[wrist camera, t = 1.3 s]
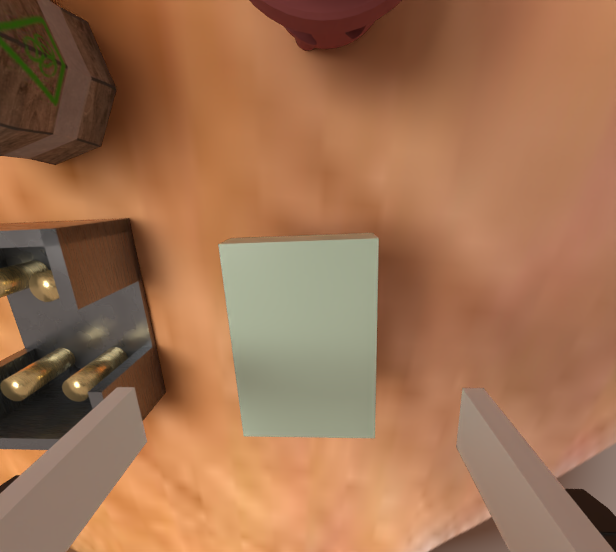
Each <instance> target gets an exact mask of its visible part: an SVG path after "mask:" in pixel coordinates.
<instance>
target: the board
mask: <svg viewBox="0 0 616 552" xmlns="http://www.w3.org/2000/svg"><path fill="white" fill-rule="evenodd" d="M218 246H219V253H220V261H221V268H222V276H223V283H224V291H225V298H226V306H227V313H228V321H229V329H230V336H231V344H232V351H233V359H234V366H235V374H236V381H237V389H238V397H239V404H240V412H241V419H242V427H243V434H244V436H261V437H327V438H375V407H376V354H377V301H378V247H379V238H378V237H377V236H376V235H375V234H374V233H352V234H325V235H299V236H273V237H246V238H230V239H228V240H226V241H224V242H222V243H220V244H218Z"/></svg>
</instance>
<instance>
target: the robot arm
mask: <svg viewBox="0 0 616 552" xmlns="http://www.w3.org/2000/svg"><path fill="white" fill-rule="evenodd" d="M146 442H147V439H146V435H145V430H144V426H143V422H142V417H141V413H140V409H139V405H138V400H137V396H136V392H135V387H117V388H116V389H115V390H114V391H112V392H111V393H110V394H109V395H108V396H107V397H106V398H105V399H104V400H103V401H101V402H100V403H99V404H98V405H97V406H96V407H95V408H94V409H93V410H92V411H90V412H89V413H88V414H87V415H86V416H85V417H84V418H83V419H82V420H81V421H79V422H78V423H77V424H76V425H75V426H74V427H73V428H72V429H71V430H70V431H68V432H67V433H66V434H65V435H64V436H63V437H62V438H61V439H60V440H59V441H57V442H56V443H55V444H54V445H53V446H52V447H51V448H50V449H49V450H48V451H46V452H45V453H44V454H43V455H42V456H41V457H40V458H39V459H38V460H37V461H35V462H34V463H33V464H32V465H31V466H30V467H29V468H28V469H27V470H26V471H25V472H23V473H22V474H21V475H16V476H14V477H13V478H11V479H10V480H8V481H7V482H5V483H4V484H2V485H1V486H0V552H66V551H67V550H68V549H69V547H70V546H71V544H72V543H73V542H74V540H75V539H76V538H77V536H78V535H79V534H80V532H81V531H82V529H83V528H84V527H85V525H86V524H87V523H88V521H89V520H90V519H91V517H92V516H93V515H94V513H95V512H96V510H97V509H98V508H99V506H100V505H101V504H102V502H103V501H104V500H105V498H106V497H107V495H108V494H109V493H110V491H111V490H112V489H113V487H114V486H115V485H116V483H117V482H118V481H119V479H120V478H121V476H122V475H123V474H124V472H125V471H126V470H127V468H128V467H129V466H130V464H131V463H132V461H133V460H134V459H135V457H136V456H137V455H138V453H139V452H140V451H141V449H142V448H143V447H144V445H145V444H146ZM456 447H457V449H458V451H459V453H460V455H461V457H462V459H463V461H464V463H465V465H466V467H467V469H468V471H469V473H470V475H471V477H472V479H473V481H474V483H475V485H476V487H477V489H478V490H479V492H480V494H481V496H482V498H483V500H484V502H485V504H486V506H487V508H488V510H489V512H490V514H491V516H492V518H493V520H494V522H495V524H496V526H497V528H498V530H499V532H500V534H501V535H502V537H503V540H504V542H505V543H506V546H507V548H508V550H509V551H510V552H616V516H615V515H614V514H613V513H612V512H611V511H610V510H609V509H608V508H607V507H606V506H604V505H603V504H602V503H600V502H599V501H598V500H597V499H595V498H594V497H593V496H591V495H590V494H589V493H587V492H586V491H585V490H583V489H564V488H563V486H562V485H561V484H560V483H559V481H558V480H557V479H556V478H555V476H554V475H553V474H552V473H551V471H550V470H549V469H548V468H547V467H546V465H545V464H544V463H543V462H542V460H541V459H540V458H539V457H538V455H537V454H536V453H535V452H534V450H533V449H532V448H531V447H530V445H529V444H528V443H527V442H526V440H525V439H524V438H523V437H522V435H521V434H520V433H519V432H518V430H517V429H516V428H515V427H514V425H513V424H512V423H511V422H510V420H509V419H508V418H507V417H506V415H505V414H504V413H503V412H502V410H501V409H500V408H499V407H498V405H497V404H496V403H495V402H494V401H493V399H492V398H491V397H490V396H489V394H488V393H487V392H486V391H485V389H484V388H462V397H461V407H460V416H459V426H458V435H457V445H456Z"/></svg>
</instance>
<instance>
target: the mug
mask: <svg viewBox="0 0 616 552" xmlns="http://www.w3.org/2000/svg"><path fill="white" fill-rule="evenodd" d="M115 93H116V87H115V84H114V82H113V80H112V77H111V75H110V73H109V70H108V68H107V66H106V63H105V61H104V59H103V57H102V54H101V52H100V50H99V47H98V45H97V43H96V40H95V38H94V36H93V33H92V31H91V29H90V27H89V24H88V22H87V21H85V20H83V19H81V18H79V17H77V16H76V15H74V14H72V13H70V12H68V11H66V10H65V9H63V8H61V7H59V6H57V5H56V4H54V3H53V2H51V1H50V0H0V156H8V157H17V158H26V159H32V160H37V161H41V162H45V163H49V164H54V165H56V164H58V163H61V162H63V161H66V160H68V159H71V158H73V157H76V156H78V155H81V154H83V153H85V152H88V151H90V150H93V149H95V148H98V147H100V146H101V145H102V141H103V137H104V134H105V130H106V126H107V122H108V119H109V115H110V111H111V108H112V104H113V100H114V96H115Z"/></svg>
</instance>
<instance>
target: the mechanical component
mask: <svg viewBox="0 0 616 552" xmlns="http://www.w3.org/2000/svg"><path fill="white" fill-rule="evenodd" d="M250 1H251V2H252V4H253V5H254V6H255V7H256V8H258V9H259V10H260V11H261V12H263V13H264V14H265V15H266V16H267V17H269V18H271V19H272V20H274V21H276V22H277V23H279V24H281V25H283V26H284V27H285V28H286V29H287V31H288V32H289V33H290V34H291V35H292V36H294V37H295V39H296V42H297V44H298V46H299V47H300V48H301V49H303V50H308V51H309V50H312V49H314V48H322V49H331V48H338V47H341V46H344V45H347V44H349V43H351V42H353V41H355V40H357V39H358V38H359V37H360V36H362V35H363V34H364V33H365V32H366V31H367V30H368V29H369V28H370V27H371V26H372V25H373V24H374V22H375V21H376V20H378V19H379V18H380V17H382V16H383V15H385V14H386V13H388V12H389V11H391V10H392V9H393V8H394V7H395V6H396V5H398V4H399V3H400V2H401V1H402V0H250Z"/></svg>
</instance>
